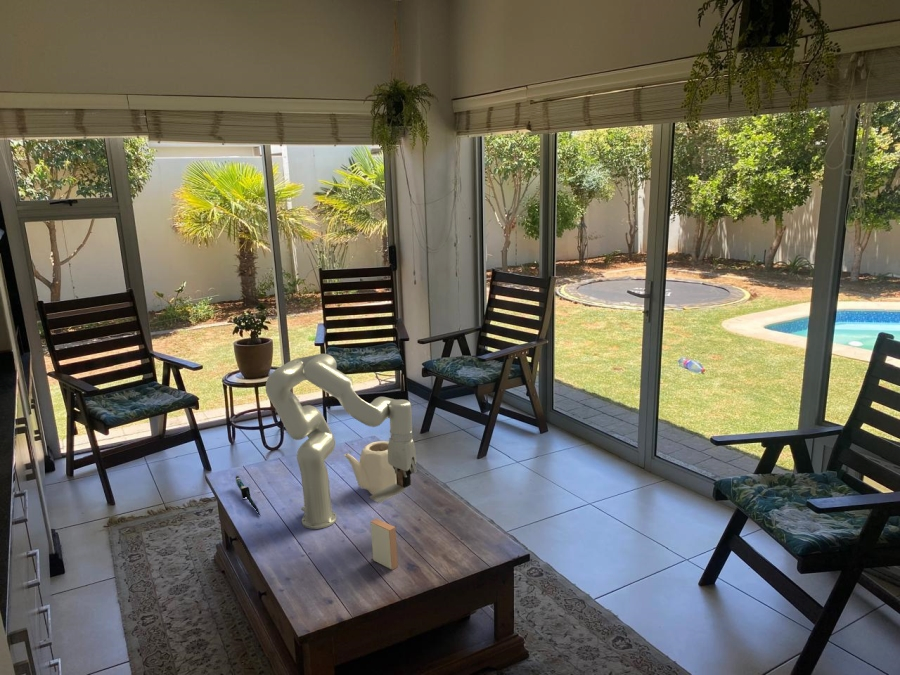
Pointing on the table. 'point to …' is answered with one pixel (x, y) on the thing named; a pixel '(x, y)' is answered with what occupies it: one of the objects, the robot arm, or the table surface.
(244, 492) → the knife
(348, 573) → the table surface
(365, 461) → the cream teapot
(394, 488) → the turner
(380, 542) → the tile
